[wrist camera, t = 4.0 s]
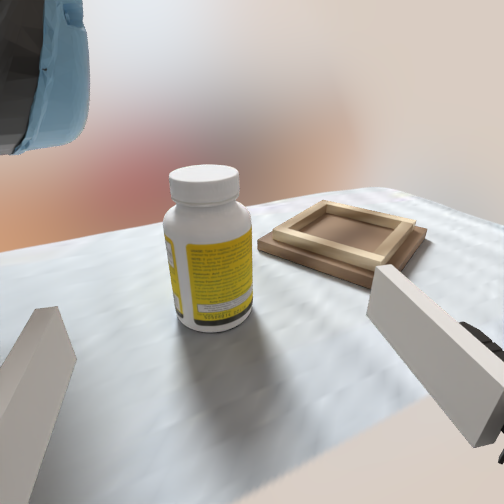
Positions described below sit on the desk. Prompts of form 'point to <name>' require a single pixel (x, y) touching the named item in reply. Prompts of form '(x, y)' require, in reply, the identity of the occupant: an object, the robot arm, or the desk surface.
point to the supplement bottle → (209, 248)
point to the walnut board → (345, 241)
